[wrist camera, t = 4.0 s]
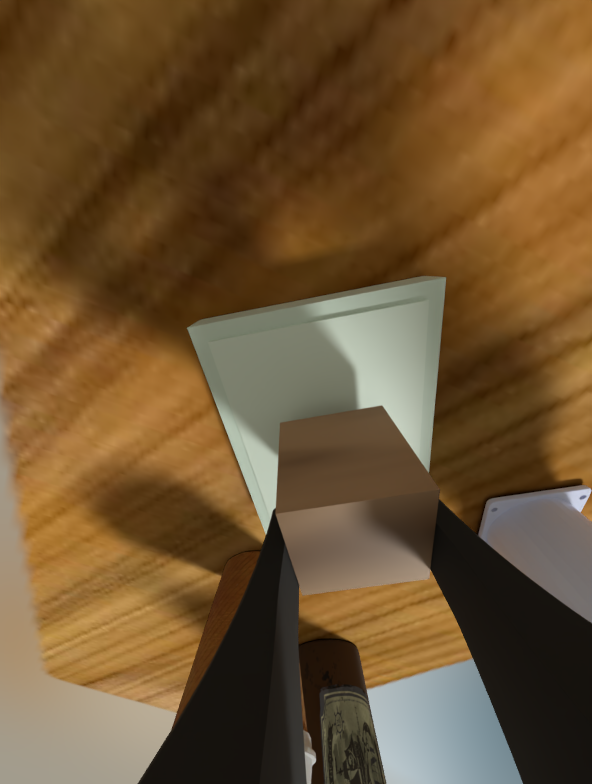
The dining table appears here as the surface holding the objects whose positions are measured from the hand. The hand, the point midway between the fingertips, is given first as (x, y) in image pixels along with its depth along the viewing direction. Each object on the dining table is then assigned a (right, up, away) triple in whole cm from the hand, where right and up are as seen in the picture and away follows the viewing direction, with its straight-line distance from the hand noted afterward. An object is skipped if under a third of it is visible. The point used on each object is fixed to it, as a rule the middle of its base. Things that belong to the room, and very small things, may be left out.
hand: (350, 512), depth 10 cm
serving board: (0, +3, +6) cm, 7 cm away
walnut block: (0, +2, +3) cm, 3 cm away
